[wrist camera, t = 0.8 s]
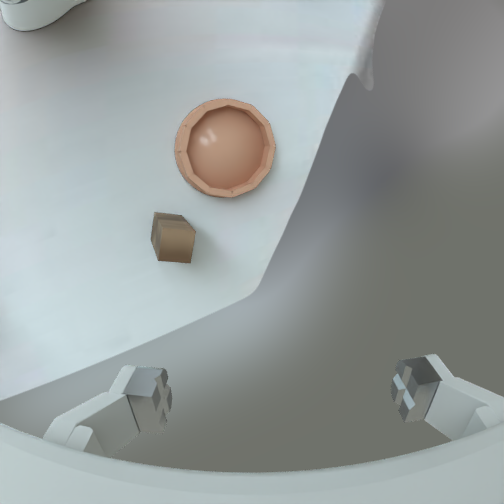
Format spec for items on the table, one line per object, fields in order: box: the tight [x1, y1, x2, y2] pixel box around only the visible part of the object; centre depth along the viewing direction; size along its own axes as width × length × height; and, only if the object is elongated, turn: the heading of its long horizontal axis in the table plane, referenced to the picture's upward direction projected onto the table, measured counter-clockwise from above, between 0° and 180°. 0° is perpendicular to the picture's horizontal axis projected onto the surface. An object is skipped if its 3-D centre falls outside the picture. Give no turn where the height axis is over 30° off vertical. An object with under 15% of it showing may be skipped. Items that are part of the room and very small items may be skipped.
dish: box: [175, 99, 276, 197], centre depth 48 cm, size 16×16×3 cm
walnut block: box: [151, 212, 196, 263], centre depth 45 cm, size 4×4×10 cm
